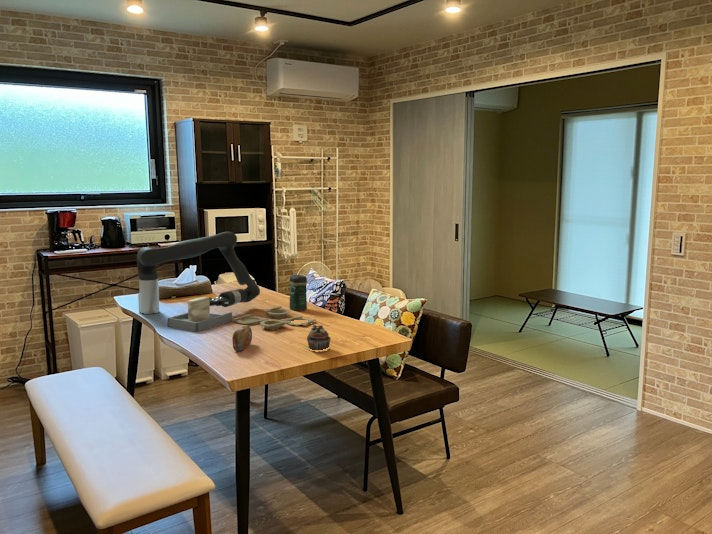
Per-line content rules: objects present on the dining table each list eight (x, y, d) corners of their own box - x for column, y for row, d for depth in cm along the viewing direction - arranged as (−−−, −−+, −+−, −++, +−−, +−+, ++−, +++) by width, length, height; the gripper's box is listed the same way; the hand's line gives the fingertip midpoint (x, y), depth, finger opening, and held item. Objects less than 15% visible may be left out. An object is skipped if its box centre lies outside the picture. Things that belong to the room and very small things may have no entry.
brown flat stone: (238, 353, 227) (238, 333, 226) (231, 353, 228) (230, 332, 226) (252, 343, 242) (252, 323, 240) (245, 342, 242) (245, 323, 241)
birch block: (188, 321, 268) (187, 300, 266) (203, 317, 276) (202, 296, 275) (194, 322, 266) (194, 301, 264) (209, 318, 275) (209, 297, 273)
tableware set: (228, 321, 279) (228, 313, 278) (275, 312, 300) (275, 304, 300) (274, 335, 255) (274, 326, 255) (322, 324, 277) (322, 316, 276)
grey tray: (167, 326, 266) (167, 318, 265) (204, 316, 287) (203, 308, 286) (197, 331, 258) (196, 323, 257) (232, 320, 279) (232, 312, 278)
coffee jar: (309, 310, 304) (309, 275, 302) (296, 312, 300) (296, 276, 297) (299, 306, 312) (300, 273, 309) (287, 308, 307) (287, 274, 305)
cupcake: (332, 352, 230) (332, 328, 229) (308, 353, 228) (308, 329, 227) (328, 346, 240) (328, 322, 238) (305, 347, 238) (305, 323, 236)
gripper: (219, 289, 292) (195, 295, 277) (240, 292, 286) (216, 298, 271) (219, 304, 293) (195, 310, 278) (240, 307, 287) (216, 313, 272)
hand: (206, 304), depth 275 cm, fingers closed
